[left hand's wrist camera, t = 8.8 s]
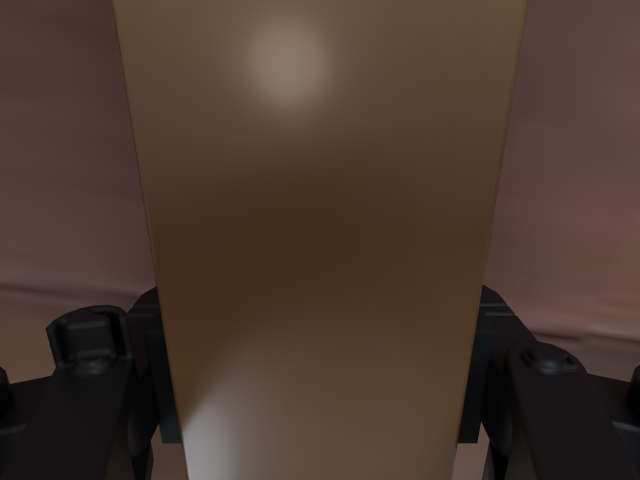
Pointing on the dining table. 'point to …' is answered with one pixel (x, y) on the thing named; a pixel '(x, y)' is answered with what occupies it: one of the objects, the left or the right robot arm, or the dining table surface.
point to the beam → (319, 222)
